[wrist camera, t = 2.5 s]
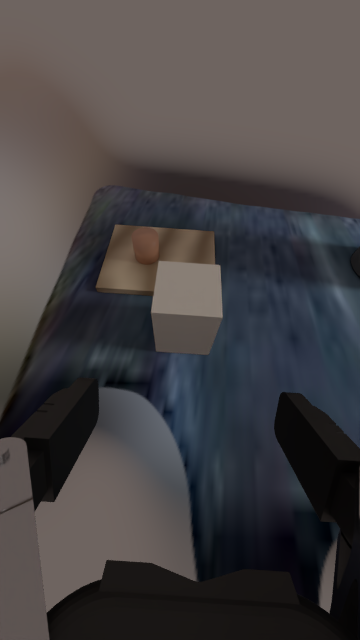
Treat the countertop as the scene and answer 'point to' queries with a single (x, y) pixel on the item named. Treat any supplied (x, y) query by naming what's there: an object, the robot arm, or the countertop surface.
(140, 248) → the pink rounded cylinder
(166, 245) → the board
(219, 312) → the light grey cuboid block
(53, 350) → the countertop surface
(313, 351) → the countertop surface
